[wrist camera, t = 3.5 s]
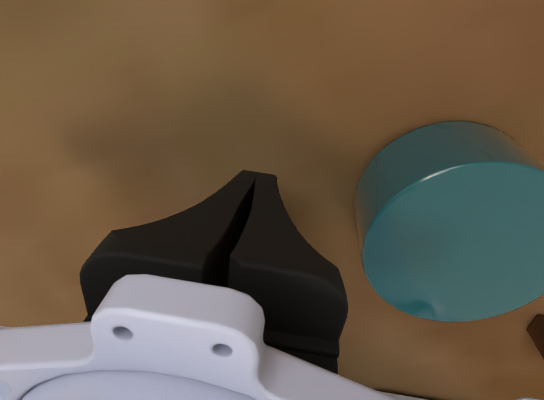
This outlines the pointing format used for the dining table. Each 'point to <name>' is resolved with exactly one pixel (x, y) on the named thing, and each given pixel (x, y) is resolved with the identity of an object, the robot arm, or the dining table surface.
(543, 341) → the walnut bay
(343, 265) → the dining table surface
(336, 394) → the robot arm
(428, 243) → the teal puck
